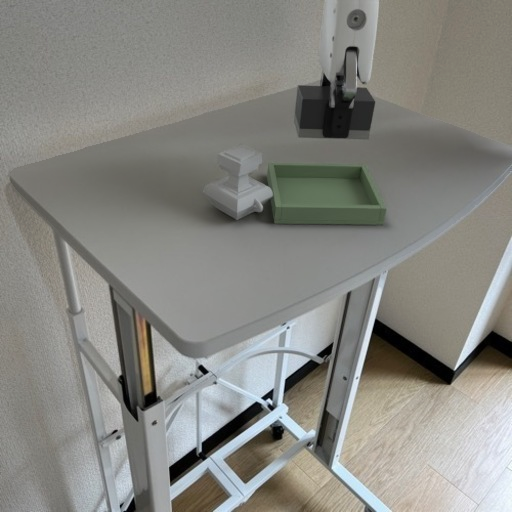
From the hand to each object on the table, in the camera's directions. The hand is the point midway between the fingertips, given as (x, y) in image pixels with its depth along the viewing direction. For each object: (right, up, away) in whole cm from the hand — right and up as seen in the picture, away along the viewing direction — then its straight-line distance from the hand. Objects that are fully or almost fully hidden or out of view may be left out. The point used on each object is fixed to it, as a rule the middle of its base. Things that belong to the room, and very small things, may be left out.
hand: (331, 126), depth 71 cm
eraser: (0, -1, 0) cm, 1 cm away
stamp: (-12, -11, +3) cm, 17 cm away
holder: (0, -9, +6) cm, 11 cm away
